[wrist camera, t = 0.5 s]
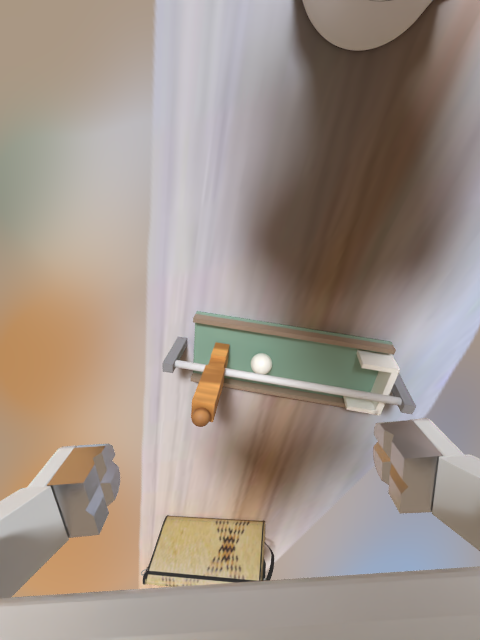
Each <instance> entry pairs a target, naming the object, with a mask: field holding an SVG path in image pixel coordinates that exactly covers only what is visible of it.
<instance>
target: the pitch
mask: <svg viewBox="0 0 480 640" xmlns="http://www.w3.org/2000/svg"><path fill="white" fill-rule="evenodd" d="M193 322H195V341H194V362H187V361H181V360H180V358H181V356H182V354H183V352H184V350H185V348H186V346H187V338H182V337H178V338H177V340H176V341H175V343H174V345H173V347H172V348H171V350H170V352H169V353H168V355H167V357H166V358H165V360H164V362H163V372H169V373H173V371H174V369H175V368H176V367H177V368H183V369H189V370H193V374H192V376H191V381H193V382H199V381H200V379H201V376H202V373H203V371H204V368H205V366H206V365H208V364H209V361H210V358H211V353H212V351H213V348H214V345H215V343H216V342H217V343H223V344H229V345H230V346H229V355H228V364H227V367H226V368H225V373H224V383H223V387H228V388H234V389H240V390H245V391H251V392H257V393H263V394H268V395H274V396H280V397H286V398H292V399H297V400H303V401H309V402H315V403H320V404H326V405H332V406H338V407H344V408H346V410H351V411H357V412H363V413H368V414H374V415H380V414H381V412H382V410H383V408H384V405H385V403H388V404H394V405H398V407H399V409H400V411H401V412H402V413H407V414H412V413H413V411H414V409H415V407H416V405H415V403H414V401H413V400H412V398H411V396H410V394H409V392H408V390H407V388H406V386H405V384H404V382H403V380H402V378H401V376H400V374H399V371H400V369H399V367H398V365H397V363H396V361H395V359H394V357H393V356H392V354H394V353H395V351H396V350H395V348H394V346H393V345H392V343H391V342H389V341H383V340H376V339H370V338H364V337H357V336H351V335H345V334H338V333H332V332H326V331H320V330H313V329H307V328H301V327H294V326H288V325H282V324H275V323H269V322H263V321H256V320H250V319H244V318H237V317H231V316H225V315H218V314H212V313H206V312H200V311H197V313H196V314H195V316H194V318H193ZM259 353H264V354H267V355H268V356H269V357H270V358H271V360H272V368H271V370H270V371H269V372H268V373H267V374H258V373H255V372H254V371H253V370H252V368H251V360H252V358H253V357H254V356H255V355H256V354H259ZM391 391H392V393H393V395H394V396H389V394H390V392H391Z"/></svg>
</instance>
